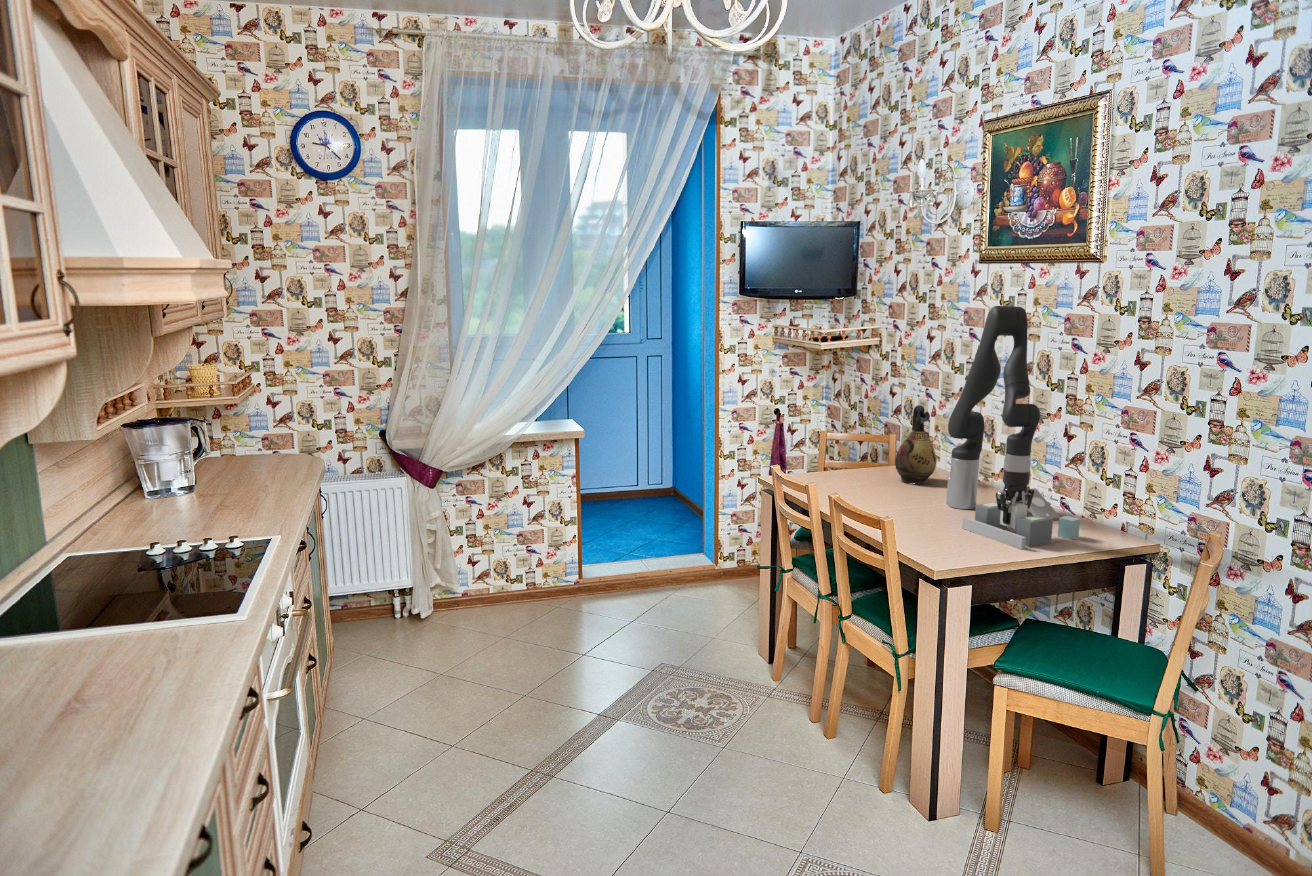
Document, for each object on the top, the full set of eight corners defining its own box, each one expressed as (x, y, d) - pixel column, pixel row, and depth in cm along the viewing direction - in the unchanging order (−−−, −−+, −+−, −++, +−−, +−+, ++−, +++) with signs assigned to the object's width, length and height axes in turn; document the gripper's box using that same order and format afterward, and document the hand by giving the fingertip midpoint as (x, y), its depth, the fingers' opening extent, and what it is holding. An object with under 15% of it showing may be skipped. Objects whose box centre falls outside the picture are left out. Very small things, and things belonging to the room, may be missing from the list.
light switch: (1040, 516, 288) (1015, 487, 299) (1032, 529, 291) (1009, 500, 302) (1061, 515, 290) (1037, 486, 301) (1054, 528, 294) (1030, 498, 305)
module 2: (1057, 536, 272) (1059, 517, 271) (1064, 534, 274) (1066, 515, 273) (1071, 540, 268) (1072, 520, 267) (1078, 537, 270) (1080, 519, 269)
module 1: (999, 524, 273) (1001, 501, 272) (1010, 522, 275) (1012, 499, 274) (1014, 528, 268) (1016, 505, 267) (1025, 527, 270) (1027, 504, 268)
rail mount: (962, 528, 279) (963, 504, 278) (993, 524, 285) (995, 500, 283) (1021, 549, 258) (1023, 523, 257) (1053, 544, 263) (1055, 519, 262)
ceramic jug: (940, 486, 338) (945, 409, 332) (899, 486, 338) (904, 408, 333) (927, 476, 354) (931, 402, 349) (888, 476, 354) (892, 402, 349)
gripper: (1024, 464, 275) (1020, 517, 278) (989, 468, 269) (986, 522, 272) (1044, 469, 268) (1039, 523, 271) (1008, 473, 262) (1004, 528, 265)
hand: (1012, 522), depth 271 cm, fingers closed on module 1, 4 cm apart
